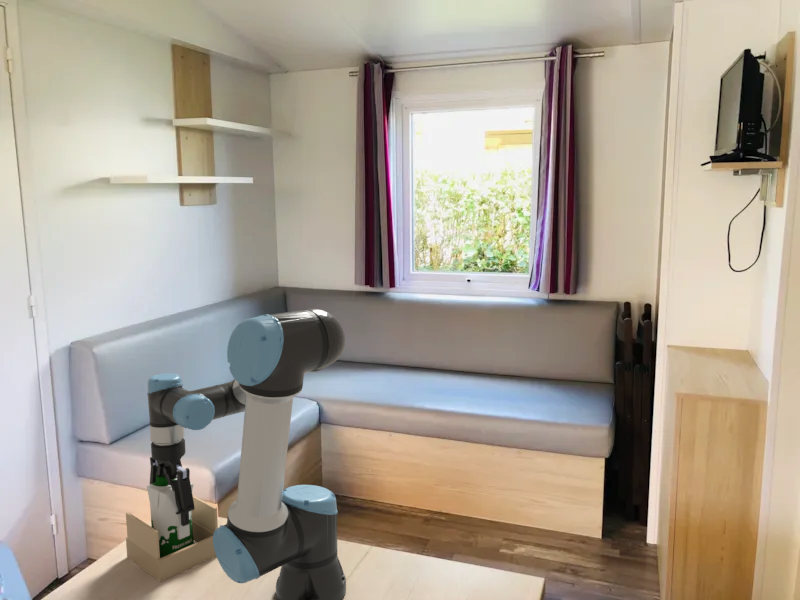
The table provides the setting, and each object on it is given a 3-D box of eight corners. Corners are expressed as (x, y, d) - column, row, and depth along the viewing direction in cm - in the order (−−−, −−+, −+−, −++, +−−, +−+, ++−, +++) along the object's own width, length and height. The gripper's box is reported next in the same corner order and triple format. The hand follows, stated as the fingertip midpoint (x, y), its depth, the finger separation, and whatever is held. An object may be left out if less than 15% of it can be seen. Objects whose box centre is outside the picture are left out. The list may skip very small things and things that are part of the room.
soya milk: (179, 542, 162) (174, 465, 159) (201, 553, 157) (197, 475, 154) (147, 557, 155) (142, 477, 152) (169, 569, 150) (164, 487, 147)
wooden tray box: (220, 553, 157) (218, 509, 155) (160, 581, 145) (157, 533, 143) (186, 532, 167) (183, 490, 165) (127, 557, 155) (124, 511, 154)
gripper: (207, 446, 148) (212, 539, 151) (159, 425, 162) (164, 510, 165) (177, 456, 142) (182, 552, 145) (130, 433, 156) (135, 521, 159)
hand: (172, 530), depth 155 cm, fingers closed on soya milk, 9 cm apart
